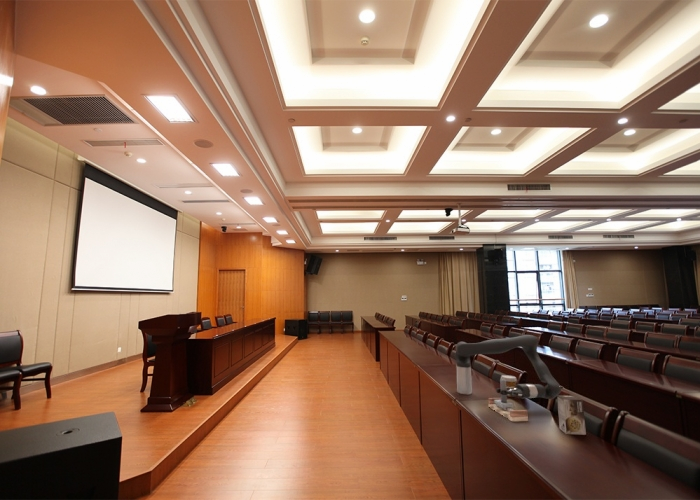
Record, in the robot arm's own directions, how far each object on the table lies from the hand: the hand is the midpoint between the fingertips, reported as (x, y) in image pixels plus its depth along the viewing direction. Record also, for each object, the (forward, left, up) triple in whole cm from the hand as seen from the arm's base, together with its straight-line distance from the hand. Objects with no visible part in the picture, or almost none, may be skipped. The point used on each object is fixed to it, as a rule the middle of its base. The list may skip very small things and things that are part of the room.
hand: (498, 391), depth 184 cm
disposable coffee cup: (-28, +25, -11) cm, 39 cm away
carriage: (0, +3, -9) cm, 9 cm away
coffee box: (+28, +20, -11) cm, 36 cm away
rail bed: (+2, +3, -11) cm, 12 cm away
